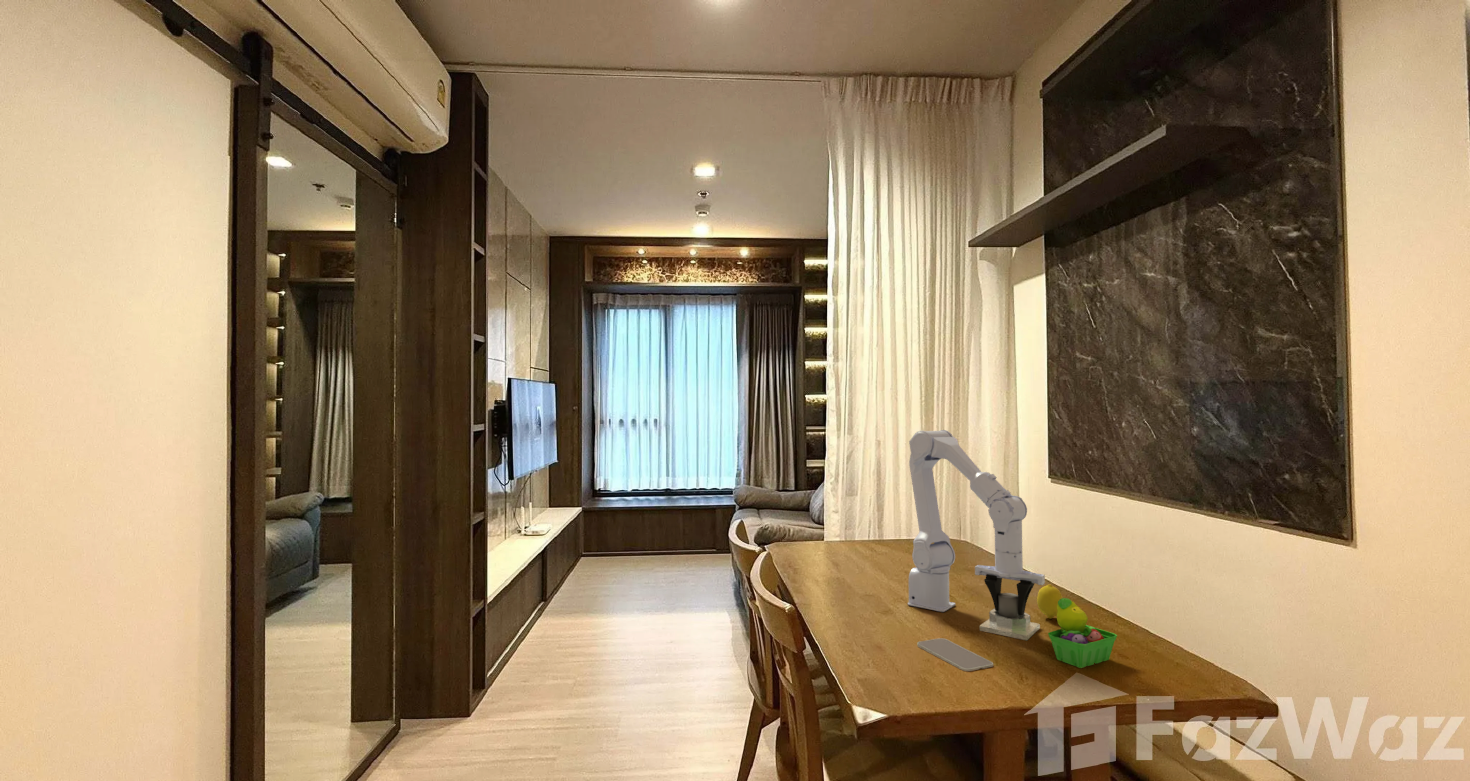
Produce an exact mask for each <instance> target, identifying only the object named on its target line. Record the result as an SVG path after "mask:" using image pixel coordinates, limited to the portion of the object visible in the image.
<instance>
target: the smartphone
mask: <svg viewBox="0 0 1470 781" xmlns="http://www.w3.org/2000/svg"><path fill="white" fill-rule="evenodd" d="M916 646H917V647H918V648H920V649H921V650H924V651H925V652H927V653H929V654H931V655H933V656H935V657H936V658H938V659H940V660H942V661H944V662H946V663H948V664H949V665H952V667H955V668H957V669H959V670H961V671H963V672H973V671H976V670H980V669H982V670H983V669H989V668H993V667H994V663H993V661H991V660H988V659H987V658H984V657H983V656H981V655H979V654H977V653H975V652H973V651H971V650H968V649H966V648H965V647H962V646H960V645H959V644H957V643H954V642H953V641H951V640H949V639H946V638H934V639H928V640H927V639H926V640H920V641H918V642H917V645H916Z"/></svg>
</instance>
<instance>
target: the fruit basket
mask: <svg viewBox="0 0 1470 781" xmlns="http://www.w3.org/2000/svg"><path fill="white" fill-rule="evenodd" d="M1088 619H1089V618H1088V615H1087V613H1086V612H1085V611H1084V610H1082V608H1081V607H1079V605H1077V604H1076V603H1075V601H1072V599H1070V598H1068V597H1062V599H1060V600H1059V601H1058V604H1057V616H1056V621H1057V624H1058V625H1059V626H1058V627H1060V629H1057V630H1053V631H1050V632H1048V633H1047V634H1048V637H1049V639H1050V641H1051V644H1052V645H1051V646H1052V648H1053V650H1054V654H1055V658H1056V660H1058V661H1060V662H1063V663H1066V664H1067V665H1071V666H1074V667H1077V668H1079V669H1082V668H1086V667H1089V666H1094V665H1095V664H1100V663H1102V662H1107V661H1110V659H1111V655H1112V654H1111V653H1112V650H1113V647H1114V644H1115V641H1116V640H1117V637H1118V635H1117V634H1116V633H1114V632H1110V631H1107V630H1105V629H1100V628H1096V627H1094V626H1091V625H1087V622H1088ZM1094 663H1095V664H1094Z"/></svg>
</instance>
